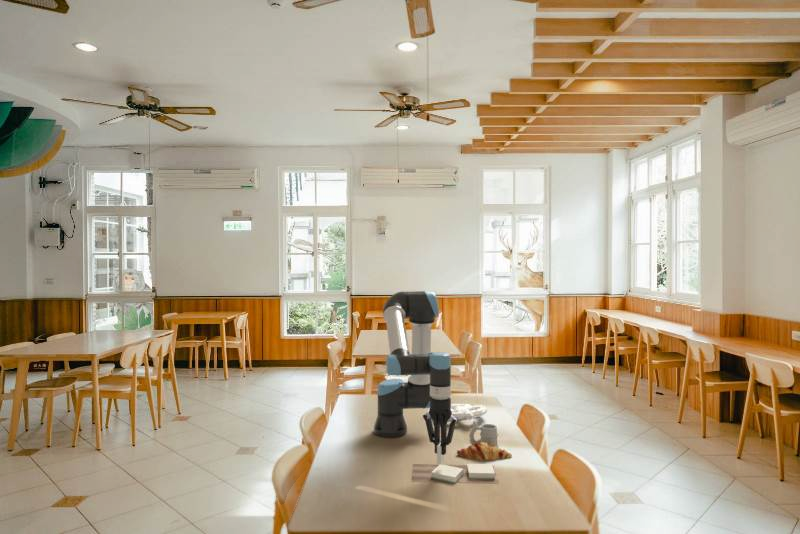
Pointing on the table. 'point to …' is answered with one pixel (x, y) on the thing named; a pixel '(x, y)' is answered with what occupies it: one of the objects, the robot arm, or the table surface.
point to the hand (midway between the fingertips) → (440, 462)
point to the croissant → (483, 452)
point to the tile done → (480, 471)
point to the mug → (485, 434)
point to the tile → (447, 473)
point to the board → (424, 475)
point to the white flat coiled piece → (466, 411)
